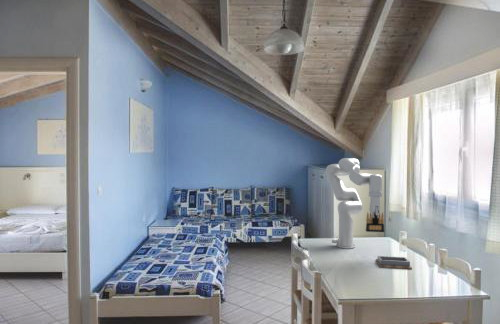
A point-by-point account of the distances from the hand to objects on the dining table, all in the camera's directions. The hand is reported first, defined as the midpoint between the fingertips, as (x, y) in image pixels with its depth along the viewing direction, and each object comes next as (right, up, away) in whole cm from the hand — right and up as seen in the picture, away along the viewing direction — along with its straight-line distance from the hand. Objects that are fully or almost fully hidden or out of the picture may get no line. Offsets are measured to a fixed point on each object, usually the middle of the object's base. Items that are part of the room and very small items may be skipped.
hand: (374, 223), depth 227 cm
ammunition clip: (0, -5, 0) cm, 5 cm away
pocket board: (+6, -22, -12) cm, 26 cm away
